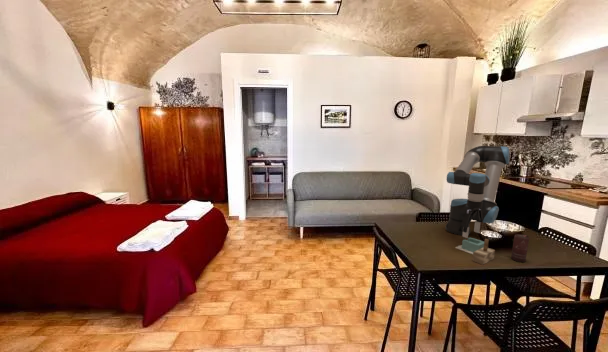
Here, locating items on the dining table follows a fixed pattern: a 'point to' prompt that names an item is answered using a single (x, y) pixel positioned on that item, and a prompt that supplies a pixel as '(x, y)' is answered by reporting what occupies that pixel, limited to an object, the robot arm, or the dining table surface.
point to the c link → (472, 244)
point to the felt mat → (463, 249)
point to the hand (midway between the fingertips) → (470, 234)
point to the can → (520, 247)
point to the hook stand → (483, 254)
